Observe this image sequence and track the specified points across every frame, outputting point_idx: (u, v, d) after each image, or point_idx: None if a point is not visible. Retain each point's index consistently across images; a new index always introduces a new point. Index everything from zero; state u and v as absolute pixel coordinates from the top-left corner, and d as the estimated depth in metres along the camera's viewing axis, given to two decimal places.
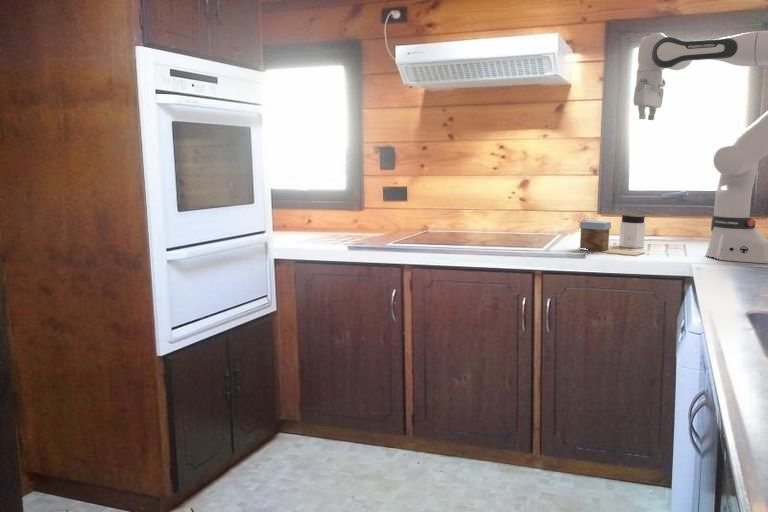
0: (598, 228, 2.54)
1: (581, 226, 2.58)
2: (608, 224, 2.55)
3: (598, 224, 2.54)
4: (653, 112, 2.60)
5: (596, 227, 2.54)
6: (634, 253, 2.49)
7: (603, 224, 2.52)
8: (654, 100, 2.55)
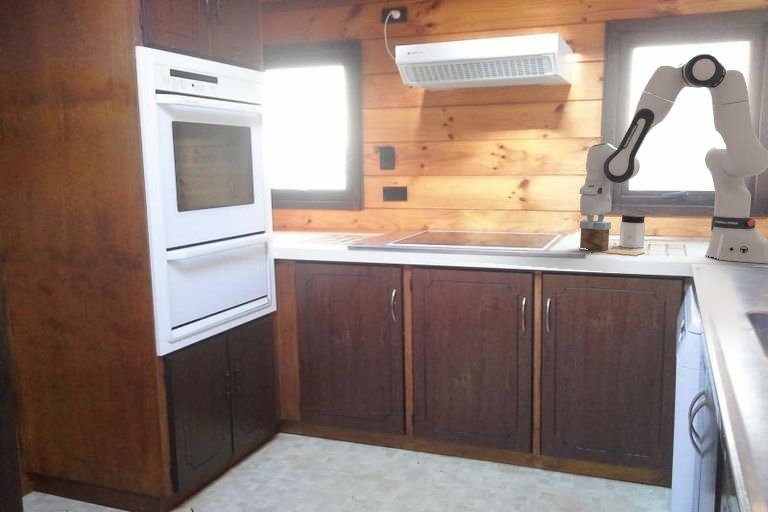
0: (598, 228, 2.54)
1: (581, 226, 2.58)
2: (608, 224, 2.55)
3: (598, 224, 2.54)
4: None
5: (596, 227, 2.54)
6: (634, 253, 2.49)
7: (603, 224, 2.52)
8: None
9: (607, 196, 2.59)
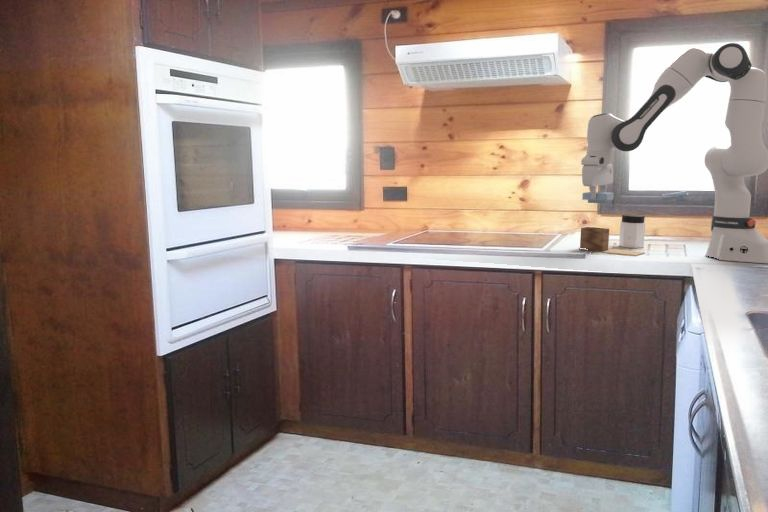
0: (601, 199, 2.52)
1: (584, 197, 2.56)
2: (611, 195, 2.53)
3: (601, 195, 2.52)
4: None
5: (599, 198, 2.53)
6: (634, 253, 2.49)
7: (606, 194, 2.51)
8: None
9: (609, 167, 2.57)
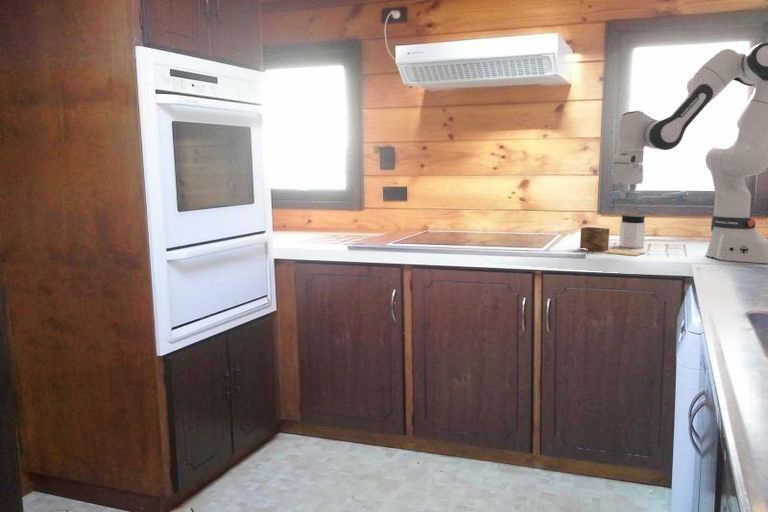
0: (630, 198, 2.45)
1: (612, 196, 2.49)
2: (641, 194, 2.47)
3: (630, 194, 2.45)
4: None
5: (628, 197, 2.46)
6: (634, 253, 2.49)
7: (636, 194, 2.44)
8: None
9: (639, 166, 2.50)
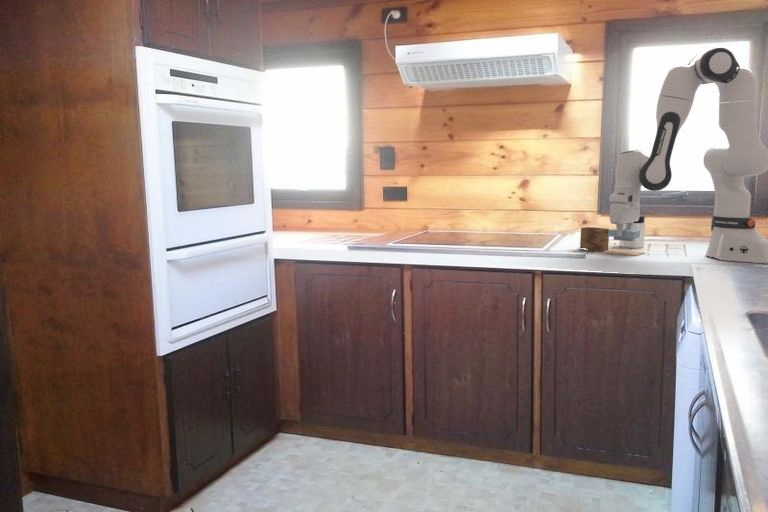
0: (627, 237, 2.47)
1: (609, 234, 2.51)
2: (637, 233, 2.49)
3: (627, 232, 2.47)
4: None
5: (625, 236, 2.48)
6: (634, 253, 2.49)
7: (633, 233, 2.46)
8: None
9: (636, 204, 2.52)
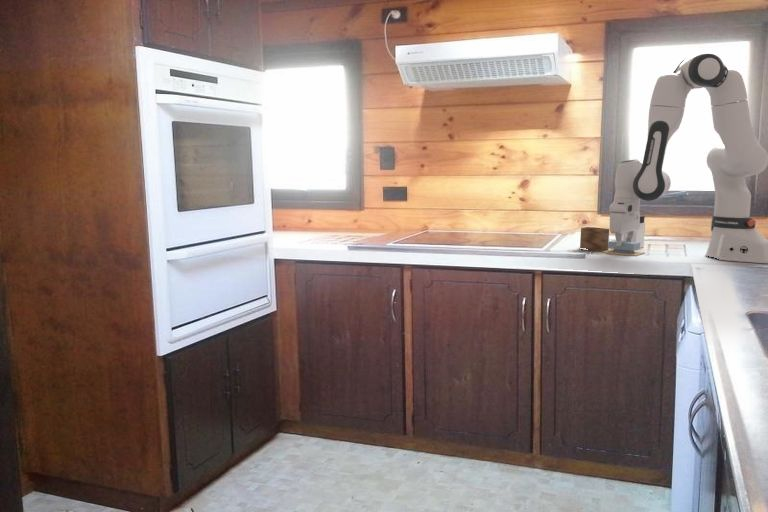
0: (627, 249, 2.48)
1: (610, 246, 2.52)
2: (638, 245, 2.49)
3: (627, 245, 2.48)
4: None
5: (625, 248, 2.48)
6: (634, 253, 2.49)
7: (633, 245, 2.47)
8: None
9: (636, 213, 2.53)
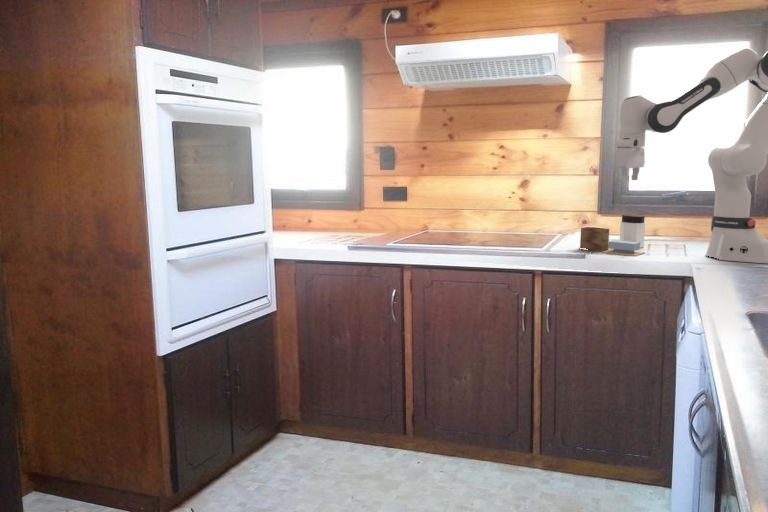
0: (627, 249, 2.48)
1: (610, 246, 2.52)
2: (638, 245, 2.49)
3: (627, 245, 2.48)
4: None
5: (625, 248, 2.48)
6: (634, 253, 2.49)
7: (633, 245, 2.47)
8: None
9: (641, 150, 2.56)
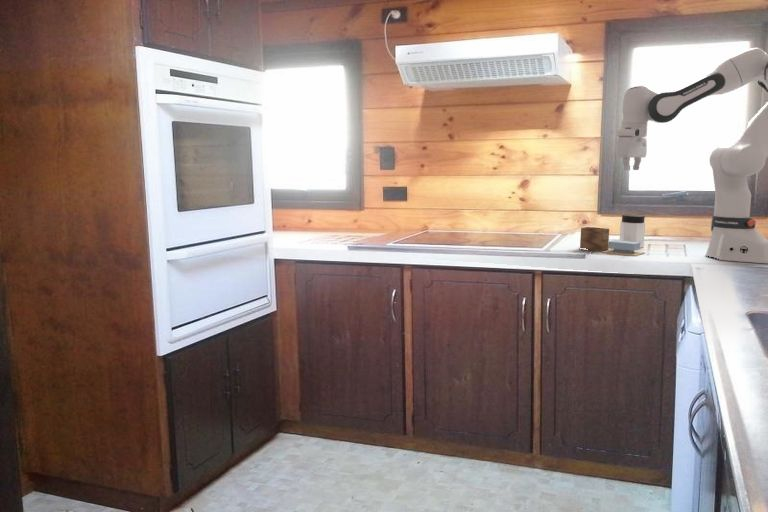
0: (627, 249, 2.48)
1: (610, 246, 2.52)
2: (638, 245, 2.49)
3: (627, 245, 2.48)
4: None
5: (625, 248, 2.48)
6: (634, 253, 2.49)
7: (633, 245, 2.47)
8: None
9: (643, 140, 2.59)
